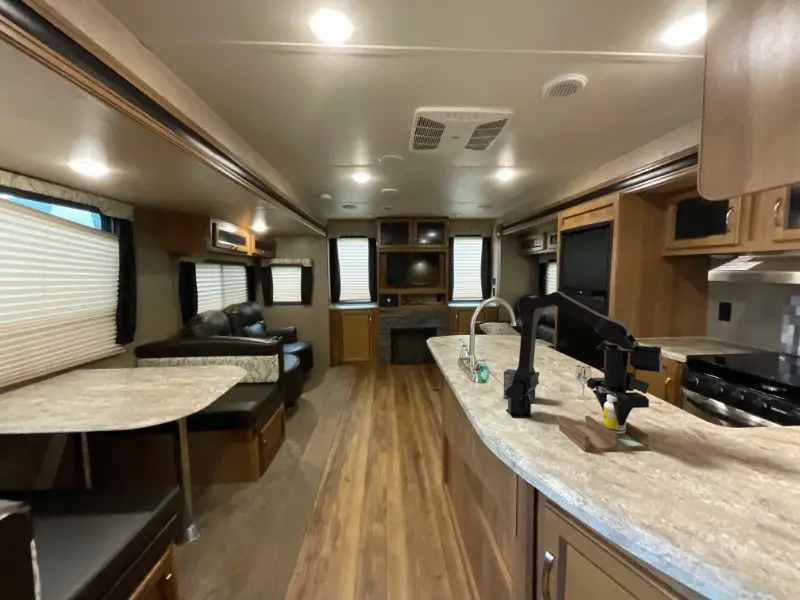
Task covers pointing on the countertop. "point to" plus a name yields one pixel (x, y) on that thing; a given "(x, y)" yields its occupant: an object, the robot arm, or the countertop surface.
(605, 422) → the supplement bottle
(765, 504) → the countertop surface
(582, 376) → the wineglass
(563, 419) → the slot rack
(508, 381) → the small box
